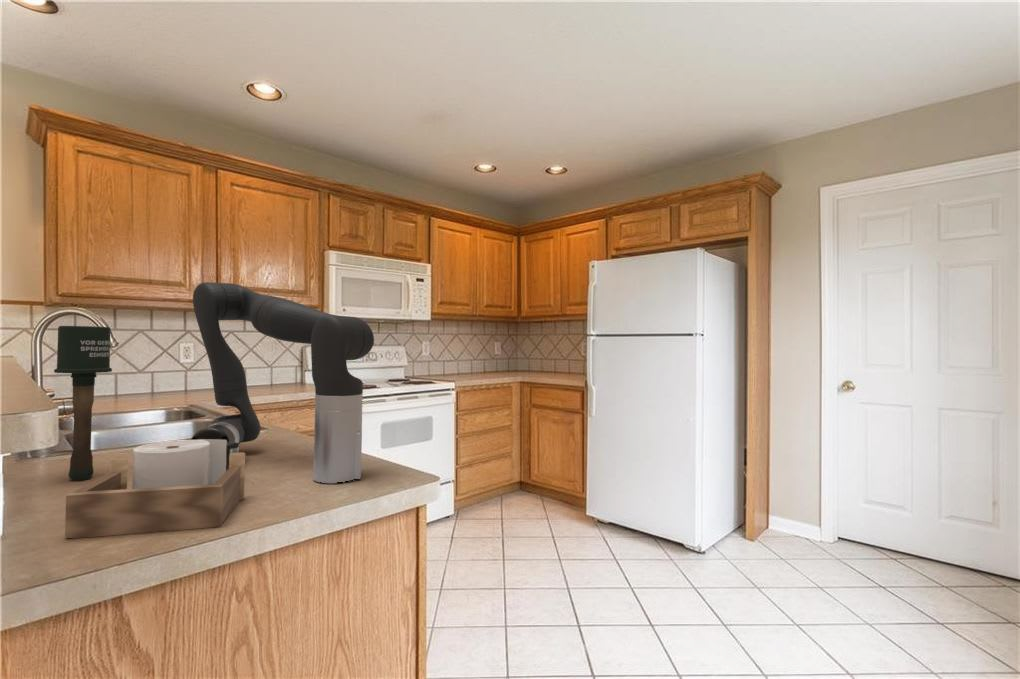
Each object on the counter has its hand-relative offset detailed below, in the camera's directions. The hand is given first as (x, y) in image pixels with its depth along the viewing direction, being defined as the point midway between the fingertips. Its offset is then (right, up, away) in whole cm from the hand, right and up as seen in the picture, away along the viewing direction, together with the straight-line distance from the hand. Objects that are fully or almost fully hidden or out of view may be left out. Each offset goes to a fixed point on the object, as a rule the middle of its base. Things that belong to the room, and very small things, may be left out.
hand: (187, 461), depth 87 cm
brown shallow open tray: (+3, -6, -10) cm, 12 cm away
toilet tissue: (+1, -6, -5) cm, 8 cm away
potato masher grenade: (-27, -6, +9) cm, 29 cm away
